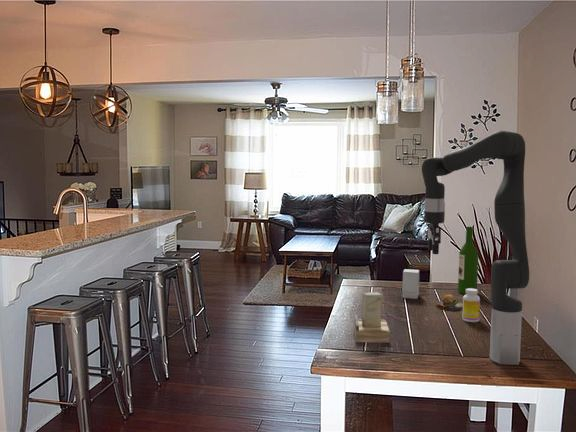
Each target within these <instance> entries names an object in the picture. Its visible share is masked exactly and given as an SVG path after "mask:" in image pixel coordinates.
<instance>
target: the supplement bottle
mask: <svg viewBox="0 0 576 432" xmlns="http://www.w3.org/2000/svg"><path fill="white" fill-rule="evenodd" d="M478 294H479V290H478V288H477V289H473V288H467V289H466V294H463V296H462V303H463V310H462V314H461V315H462V316H461V318H462V320H463V321H464V322H467V323H478V322H479V321H480V313H481V312H480V309H481V305H480V304H481V298H480V296H479V295H478Z"/></svg>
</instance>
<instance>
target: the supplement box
mask: <svg viewBox="0 0 576 432" xmlns="http://www.w3.org/2000/svg"><path fill="white" fill-rule="evenodd" d="M419 287H420V269H411V268H410V269H409V268H407V269H406V268H404V269H403V271H402V287H401V288H402V292H401V293H402V294H401V297H402V298H403V299H415V300H417V299H418V298H419V294H420V293H419V292H420V288H419Z"/></svg>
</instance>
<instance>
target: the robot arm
mask: <svg viewBox="0 0 576 432" xmlns="http://www.w3.org/2000/svg"><path fill="white" fill-rule="evenodd" d="M486 159H497V160H502V161H503V175H502V176H503V177H502V181H501V183H500V185H499V187H498V189H497V192H496V194H495V198H494V203H493V205H494V207H493V208H494V220H495V223H496V225H497V227H498V228H499V230H500V231H501V233H502V234H503V236H504V237H505V239H506V240H507V242H508V243H509V245H510V246H509V247H510V248H511V252H512V259H499V260H495V261H493V263H492V264H491V268H490V284H491V285H490V287H491V288H490V291H491V292H490V296H491V297H490V299H491V313H490V314H491V316H490V334H489V335H490V338H489V339H490V343H489V359H490V360H491V361H492V362H494V363H496V364H498V365H509V366H510V365H511V366H512V365H513V366H515V365H516V366H520V361H521V341H522V340H521V338H522V337H521V336H522V319H523V318H522V317H523V315H522V314H523V302H522V301H521V300H520V299H518V298H515V297H512V296H510V295H508V294H507V290H508V289H509V290H511V289H516V290H517V289H526V288H527V287H528V285H529V283H530V265H529V258H528V249H527V240H526V207H525V206H526V205H525V178H524V177H525V173H524V172H525V160H526V140H525V139H524V137H523V135H521V134H520V133H518V132H512V131H506V130H498V131H495V132H492V133H491V134H489V135H487V136H485V137H484V138H482V139H480V140H478V141H476V142H474V143H472V144H470V145H468V146H465V147H463V148H460V149H456V150H453V151H450V152H448V153H446V154H445V155H444V156H442V157H427V158H425V159H424V160H423V162H422V164H421V173H422V179H423V183H424V187H425V194H424V195H425V198H424V207H423V209H424V213H423V215H424V216H423V217H424V218H423V222H424V223H426V224H427V231H426V232H427V233H426V235H427V236H426V238H427V240H428V242H427V243H428V247H427V248H428V251H432V252H431V253H432V255H439V252H440V244H441V242H442V241H441V239H442V237H441V236H442V235H441V232H442V227H441V226H440V225H439V224H444V223H445V217H446V216H445V215H446V212H445V211H446V202H445V194H446V193H445V191H446V189H445V188H446V187H445V184H444V183H442V182H440V181H438V177H443V176H447V175H449V174H450V175H451V173H454V172H456V171H460V170H463V169H466V168H468V167H471V166H473V165H474V164H475V163H476V162H478V161H481V160H486Z"/></svg>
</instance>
